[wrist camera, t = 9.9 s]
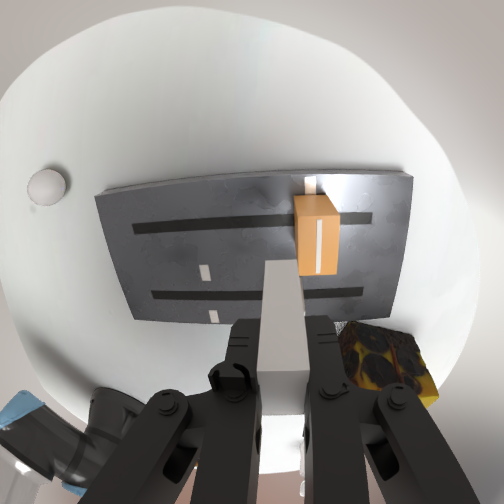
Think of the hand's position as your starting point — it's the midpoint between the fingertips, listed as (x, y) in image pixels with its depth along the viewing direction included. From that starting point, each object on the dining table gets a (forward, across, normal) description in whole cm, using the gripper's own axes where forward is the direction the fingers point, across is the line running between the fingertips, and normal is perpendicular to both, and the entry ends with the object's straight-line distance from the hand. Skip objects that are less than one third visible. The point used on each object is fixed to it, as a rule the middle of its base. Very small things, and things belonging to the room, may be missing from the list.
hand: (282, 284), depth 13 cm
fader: (+8, +2, 0) cm, 8 cm away
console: (+10, -3, -3) cm, 11 cm away
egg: (+11, -23, +6) cm, 26 cm away
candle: (+11, +10, -18) cm, 23 cm away
